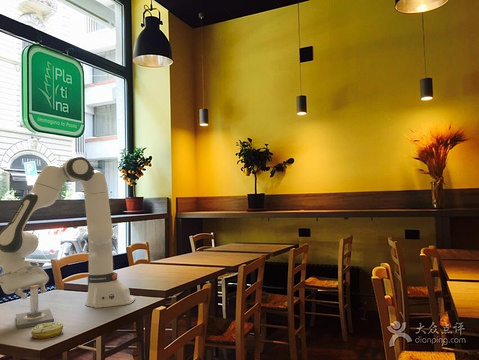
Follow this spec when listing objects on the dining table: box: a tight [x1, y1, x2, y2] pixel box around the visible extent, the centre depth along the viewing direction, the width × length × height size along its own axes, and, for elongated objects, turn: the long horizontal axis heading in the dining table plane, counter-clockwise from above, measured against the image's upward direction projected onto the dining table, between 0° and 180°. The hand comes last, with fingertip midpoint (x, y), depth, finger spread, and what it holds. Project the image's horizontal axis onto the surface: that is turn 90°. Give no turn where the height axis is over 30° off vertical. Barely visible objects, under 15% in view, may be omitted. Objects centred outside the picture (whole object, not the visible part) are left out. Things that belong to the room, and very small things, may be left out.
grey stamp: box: [26, 285, 42, 318], centre depth 161 cm, size 4×4×12 cm
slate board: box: [15, 308, 55, 330], centre depth 161 cm, size 18×13×2 cm
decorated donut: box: [30, 321, 64, 340], centre depth 142 cm, size 10×11×4 cm
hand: (35, 295), depth 161 cm, fingers open, 8 cm apart
